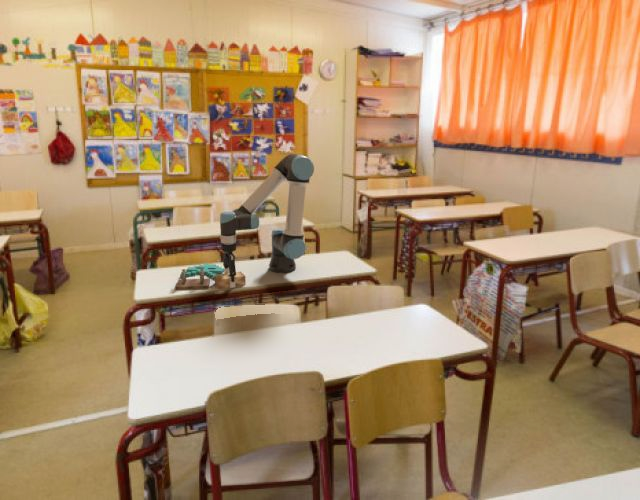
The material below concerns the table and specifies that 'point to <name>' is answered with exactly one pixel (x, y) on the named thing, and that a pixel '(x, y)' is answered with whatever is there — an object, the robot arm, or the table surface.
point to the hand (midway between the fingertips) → (230, 283)
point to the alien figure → (208, 270)
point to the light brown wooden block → (224, 280)
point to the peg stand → (192, 282)
